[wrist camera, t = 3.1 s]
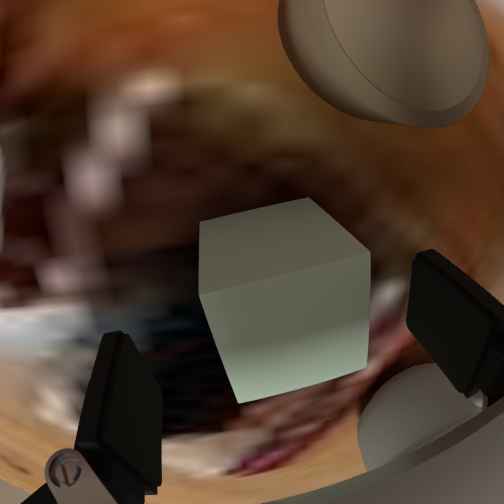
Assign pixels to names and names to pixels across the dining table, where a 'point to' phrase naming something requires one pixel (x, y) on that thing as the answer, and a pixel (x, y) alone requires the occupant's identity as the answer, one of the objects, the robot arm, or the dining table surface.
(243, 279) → the sage block
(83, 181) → the dining table surface
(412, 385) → the teacup
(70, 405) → the dining table surface
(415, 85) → the brown round dish
